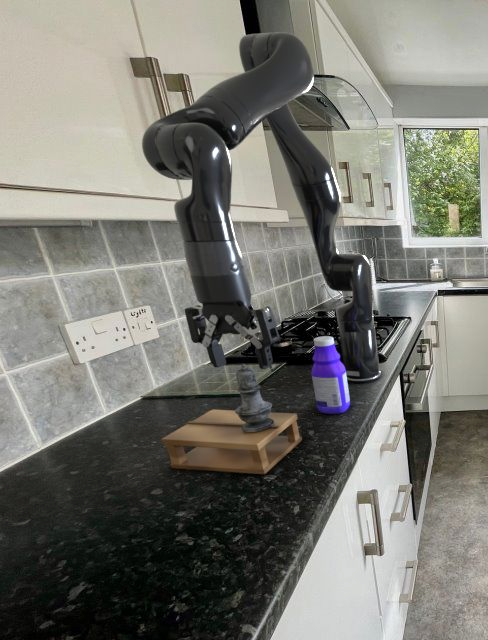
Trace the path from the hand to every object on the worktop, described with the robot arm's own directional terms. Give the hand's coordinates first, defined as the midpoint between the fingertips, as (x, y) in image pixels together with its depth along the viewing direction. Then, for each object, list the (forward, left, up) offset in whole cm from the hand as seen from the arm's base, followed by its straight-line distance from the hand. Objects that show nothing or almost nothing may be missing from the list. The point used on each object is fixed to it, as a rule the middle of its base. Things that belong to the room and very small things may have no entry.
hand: (243, 366), depth 71 cm
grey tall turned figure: (0, 0, -12) cm, 12 cm away
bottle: (-20, +4, -18) cm, 27 cm away
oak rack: (0, -5, -18) cm, 18 cm away
